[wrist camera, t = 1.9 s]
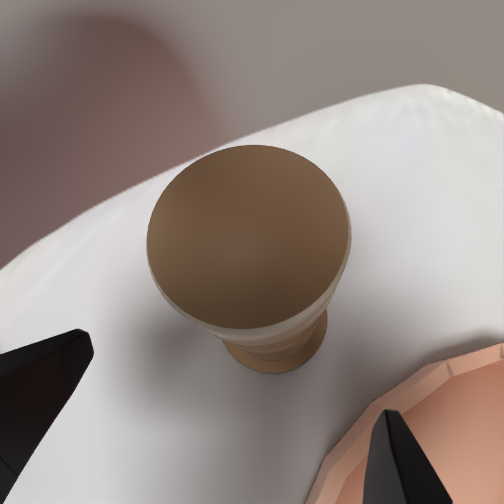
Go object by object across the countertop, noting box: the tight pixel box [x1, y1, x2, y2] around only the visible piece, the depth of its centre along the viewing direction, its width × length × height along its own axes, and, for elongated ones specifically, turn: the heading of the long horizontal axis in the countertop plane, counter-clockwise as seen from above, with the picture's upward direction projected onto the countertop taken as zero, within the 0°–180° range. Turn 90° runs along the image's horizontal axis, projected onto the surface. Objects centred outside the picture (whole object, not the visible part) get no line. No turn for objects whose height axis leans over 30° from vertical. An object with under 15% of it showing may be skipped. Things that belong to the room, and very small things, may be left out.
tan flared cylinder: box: [147, 145, 351, 374], centre depth 14 cm, size 6×6×13 cm
